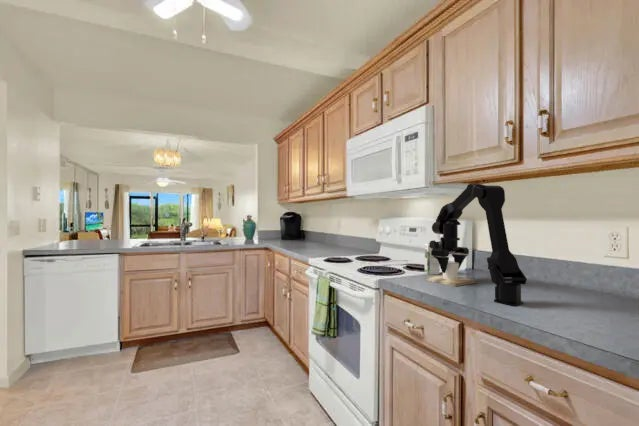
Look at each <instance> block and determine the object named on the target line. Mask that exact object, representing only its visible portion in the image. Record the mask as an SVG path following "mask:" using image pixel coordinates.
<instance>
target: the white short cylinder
mask: <svg viewBox="0 0 639 426" xmlns="http://www.w3.org/2000/svg"><path fill="white" fill-rule="evenodd" d="M458 267H459V263H458V262H454V261H449V260H448V264H447V268H446V271H445V273H443V272H442V275H443V278H444V279H447V280H457V277H459V270H458Z"/></svg>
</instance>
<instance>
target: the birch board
mask: <svg viewBox="0 0 639 426" xmlns="http://www.w3.org/2000/svg"><path fill="white" fill-rule="evenodd" d="M425 280H426V281H428V282H431V281H432V283H436V284H440V285H445V286H451V287H455V288H456V287H459V286H466V285H470V284H474V283H476V279H473V278H468V277H462V276H458V277H457V280H447V279H444V278H443V274H438V275H434V276H429V277H425Z"/></svg>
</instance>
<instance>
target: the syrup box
mask: <svg viewBox="0 0 639 426" xmlns="http://www.w3.org/2000/svg"><path fill="white" fill-rule="evenodd" d="M431 251H432V248H430V242H426V243H424V273H426V274H427V275H440V264H439V262H438V260H437V259H436V258H435V257H433V256H432V255H431Z"/></svg>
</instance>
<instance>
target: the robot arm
mask: <svg viewBox="0 0 639 426" xmlns="http://www.w3.org/2000/svg"><path fill="white" fill-rule="evenodd" d="M475 198H477V202H478V204H479V206H480V207H481V208H482V209H483V211H485V216H486V223H487V228H488V233H489V241H490V245H491V246H490V247H491V254H490V256H489V257H487V258H486V262H487V270H489V275H490V278H491V282H492V283H493V284H495V286H494V299H493V302H496V303H499V304H504V305H509V306H515V307H516V306H519V305H521V304H524V301H523V300H522V285H526V283H527V277H526V275H525V273H524V272H523V270H522V269H520V265H519V263H518V261H517V258H516V256H515V255H514V254H513V253H512V252H511V251H510V249H509V243H508V242H509V241H508V237H507V231H506V226H505V221H504V216H503V211H502V210H503V207H504V205H505V202H506V194H505V188H504V187H502V186H501V185H490V184H489V185H486V184H482V183H469V184H467V186H466V188H465V189H464V190H463V191H462V192H461V193H460V194H459V195H458V196H457V197H456V198H455V199H454V200H453V201H452V202H448V203H446V204H444V205H443V206H442V207H441V209H440V211H439V213H438V215H437V217H436V219H435V222H433V223H432V226H431V231H432V232H433V233H434V234H437V235H442V237H440V239H439V241H436V240H430V241H429V243H430V248H432V251H431V255H432V256H433V257H435V258H436V259H437V260H438V262H439V264H440V266H439V268H440V270H441V273H442V274H443V273H445V271H446V268H447V264H448V261H449V260H450V257H449V255H451V256H452V257H453V258H454V259H453V262H458V263H459V267H458V271H459V269H460V268H461V266H462V264H463V262H464V260H465V259H466V257H467V256H468V255H469V254H470V251H469V250H470V249H469V248H468V247H467V246H466V247H465V246H459V245H458V241H461V240H460V239H461V238H460V237H458V236H459V235H458V232H459V231H458V229H459V227H458V226H460V225H461V222H460V221H459V219H460V217H462V215H463V210H464V209H465V208H466V207H468V206H469V204H470V203H472V202H473V201H474V199H475Z"/></svg>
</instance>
